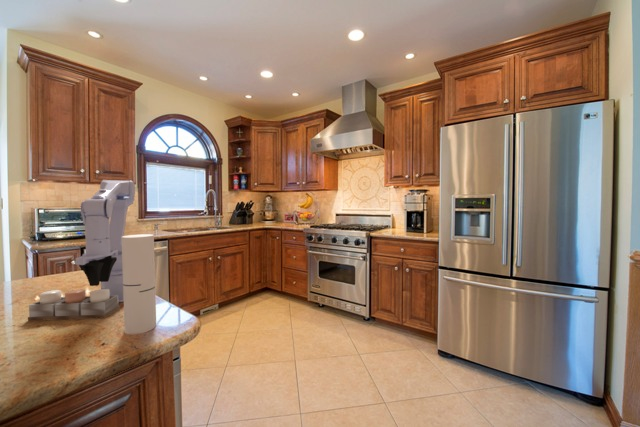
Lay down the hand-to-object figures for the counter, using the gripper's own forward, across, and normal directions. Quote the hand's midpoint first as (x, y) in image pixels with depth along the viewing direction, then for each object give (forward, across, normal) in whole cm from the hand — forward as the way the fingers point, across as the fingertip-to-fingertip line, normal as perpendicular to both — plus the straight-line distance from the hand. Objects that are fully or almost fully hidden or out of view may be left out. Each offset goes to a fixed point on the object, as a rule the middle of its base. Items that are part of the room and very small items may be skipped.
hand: (99, 283), depth 82 cm
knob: (+6, 0, 0) cm, 6 cm away
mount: (+9, 0, -7) cm, 12 cm away
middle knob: (+6, 0, -7) cm, 9 cm away
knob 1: (+6, 0, -14) cm, 15 cm away
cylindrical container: (+10, +11, +18) cm, 23 cm away
